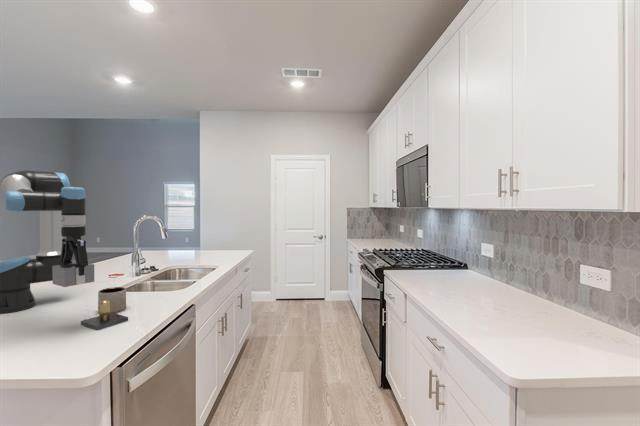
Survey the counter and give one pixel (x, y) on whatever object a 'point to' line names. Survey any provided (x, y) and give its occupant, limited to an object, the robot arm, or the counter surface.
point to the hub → (104, 318)
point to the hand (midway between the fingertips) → (73, 282)
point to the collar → (70, 274)
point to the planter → (113, 298)
